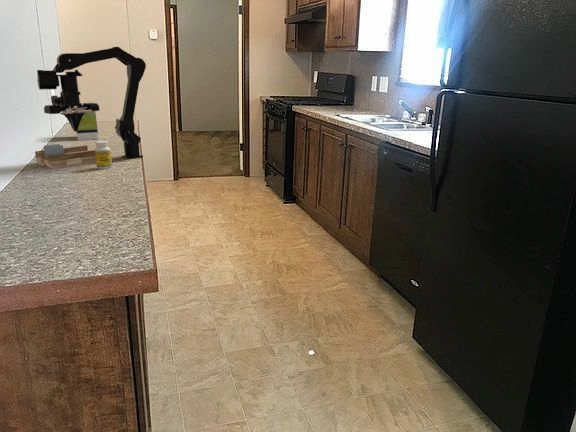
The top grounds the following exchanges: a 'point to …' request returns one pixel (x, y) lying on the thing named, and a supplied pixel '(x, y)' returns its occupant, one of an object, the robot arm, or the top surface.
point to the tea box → (88, 126)
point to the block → (54, 149)
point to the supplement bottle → (103, 155)
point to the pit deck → (67, 157)
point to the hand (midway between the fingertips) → (75, 131)
